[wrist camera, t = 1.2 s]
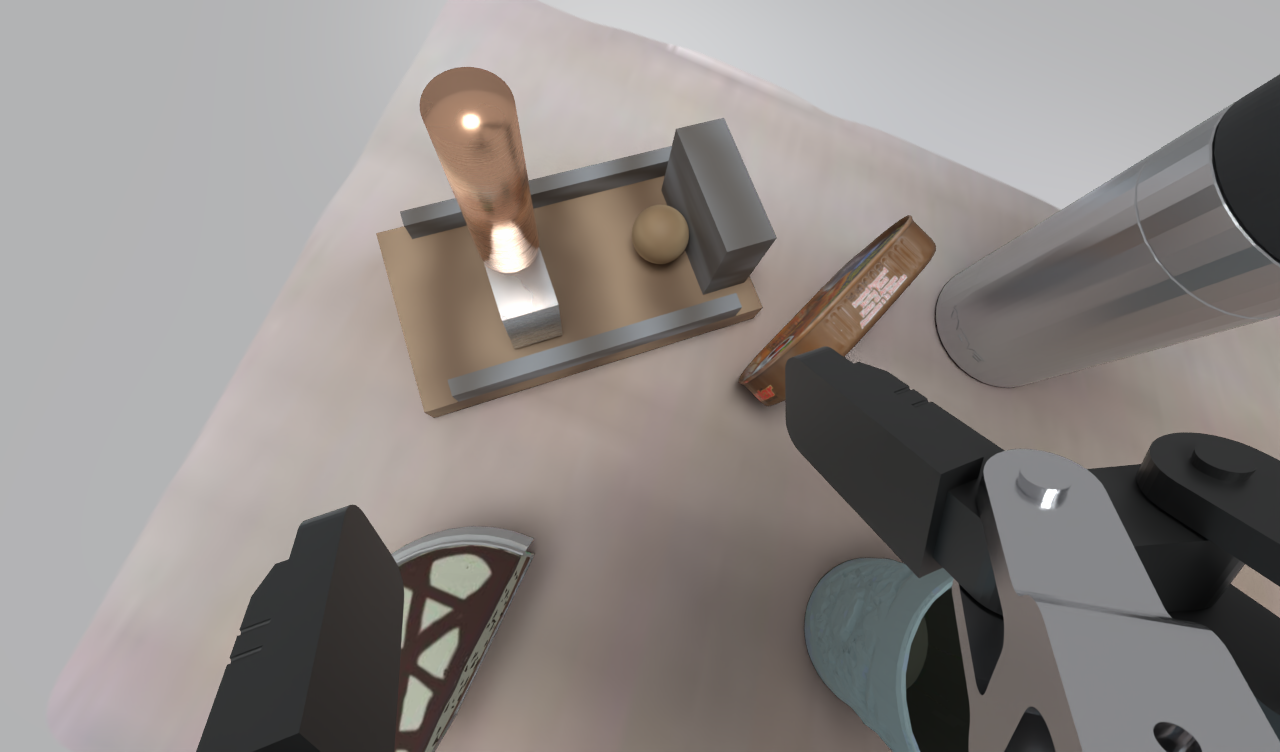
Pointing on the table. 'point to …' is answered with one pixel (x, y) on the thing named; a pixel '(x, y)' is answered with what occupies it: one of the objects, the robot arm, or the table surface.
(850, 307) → the tin
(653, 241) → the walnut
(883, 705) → the teal cup
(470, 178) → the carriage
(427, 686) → the food container
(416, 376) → the railed wooden base
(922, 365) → the table surface
